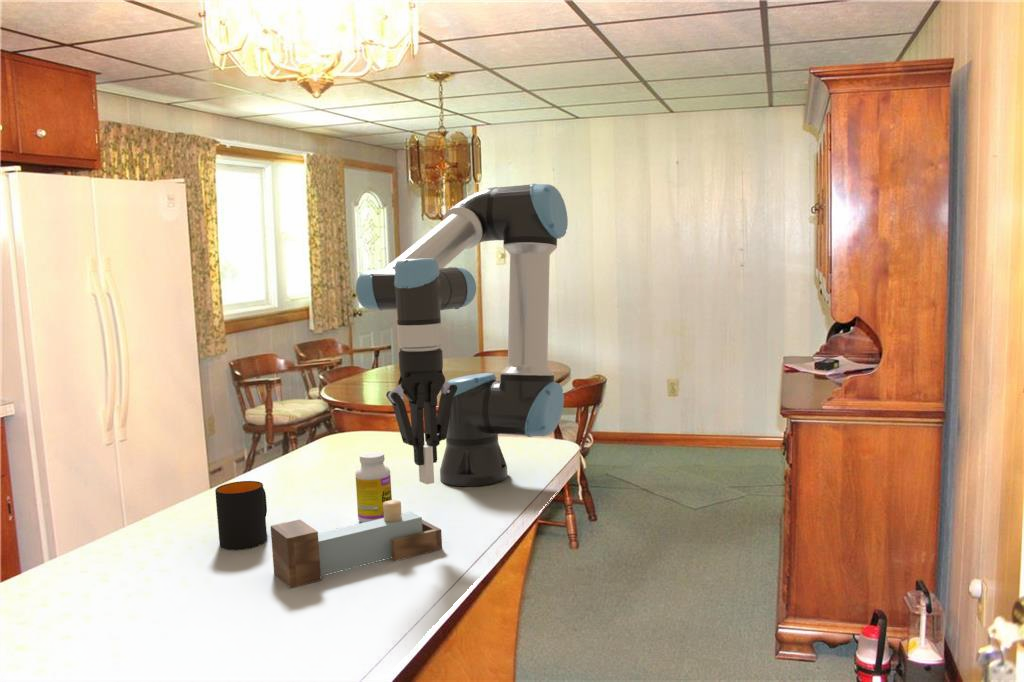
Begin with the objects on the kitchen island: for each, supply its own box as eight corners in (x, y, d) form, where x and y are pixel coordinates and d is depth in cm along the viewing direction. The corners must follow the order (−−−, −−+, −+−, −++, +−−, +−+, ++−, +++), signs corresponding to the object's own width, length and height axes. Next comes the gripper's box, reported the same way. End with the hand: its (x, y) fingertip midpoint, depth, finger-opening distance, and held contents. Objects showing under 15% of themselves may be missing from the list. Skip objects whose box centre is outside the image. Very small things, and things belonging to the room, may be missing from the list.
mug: (286, 529, 165) (282, 476, 164) (250, 551, 154) (245, 494, 153) (248, 527, 168) (244, 474, 167) (210, 548, 156) (205, 492, 155)
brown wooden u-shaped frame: (420, 537, 158) (419, 518, 158) (442, 549, 151) (441, 529, 151) (375, 548, 153) (373, 528, 153) (395, 561, 146) (393, 540, 146)
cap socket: (303, 565, 146) (300, 519, 145) (321, 580, 139) (317, 531, 138) (274, 573, 143) (270, 525, 142) (290, 588, 137) (287, 538, 136)
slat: (412, 544, 155) (409, 495, 154) (423, 550, 152) (420, 500, 151) (310, 570, 144) (306, 517, 143) (319, 577, 141) (315, 523, 140)
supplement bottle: (386, 525, 165) (382, 459, 164) (353, 524, 167) (348, 458, 165) (397, 514, 172) (393, 450, 170) (365, 513, 173) (361, 450, 172)
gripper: (443, 343, 157) (448, 471, 160) (376, 350, 150) (383, 484, 153) (464, 346, 151) (469, 479, 153) (395, 353, 144) (402, 493, 146)
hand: (426, 482), depth 153 cm, fingers closed
